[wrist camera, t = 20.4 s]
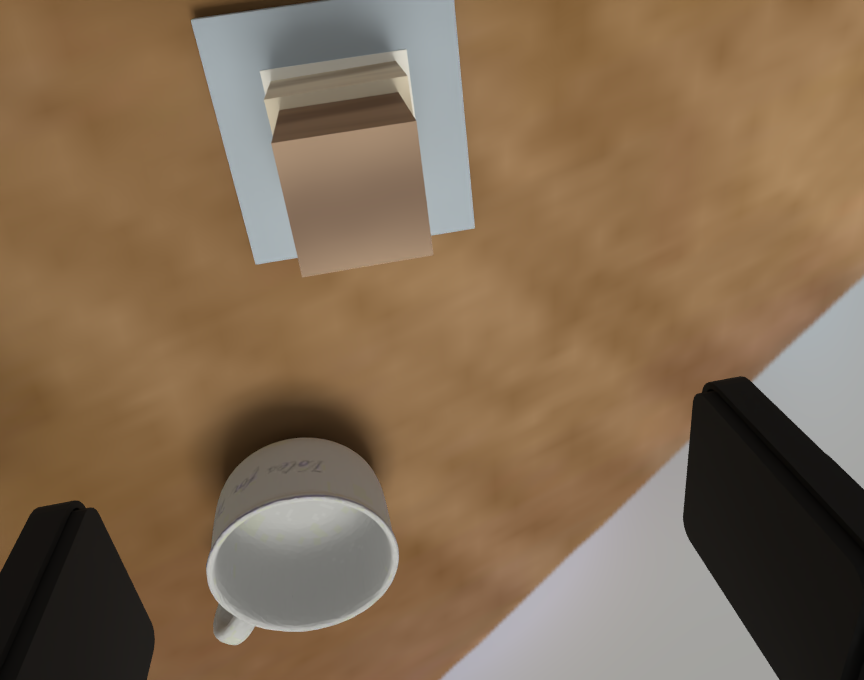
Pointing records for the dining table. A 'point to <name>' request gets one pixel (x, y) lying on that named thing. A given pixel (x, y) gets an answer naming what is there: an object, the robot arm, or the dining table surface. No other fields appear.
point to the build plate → (323, 52)
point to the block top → (352, 183)
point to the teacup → (299, 540)
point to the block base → (336, 87)
